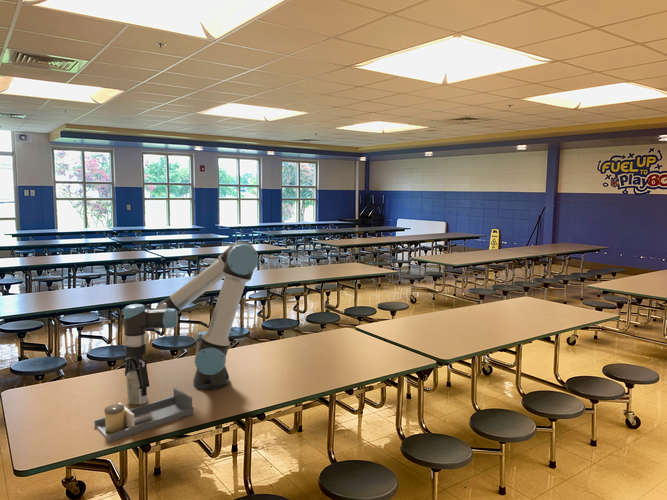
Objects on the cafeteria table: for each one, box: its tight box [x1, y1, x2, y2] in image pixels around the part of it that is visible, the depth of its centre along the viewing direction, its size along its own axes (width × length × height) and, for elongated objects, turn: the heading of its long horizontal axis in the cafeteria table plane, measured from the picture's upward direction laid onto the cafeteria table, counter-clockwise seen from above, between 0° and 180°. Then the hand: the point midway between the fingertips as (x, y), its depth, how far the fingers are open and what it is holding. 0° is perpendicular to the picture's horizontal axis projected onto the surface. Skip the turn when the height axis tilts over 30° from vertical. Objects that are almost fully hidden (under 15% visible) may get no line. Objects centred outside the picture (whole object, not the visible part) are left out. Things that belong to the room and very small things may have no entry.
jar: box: [104, 403, 125, 434], centre depth 163 cm, size 6×6×8 cm
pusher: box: [117, 402, 151, 428], centre depth 169 cm, size 12×9×6 cm
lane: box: [93, 387, 195, 443], centre depth 171 cm, size 15×30×6 cm, turn 135°
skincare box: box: [125, 371, 140, 405], centre depth 185 cm, size 6×4×12 cm
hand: (137, 398), depth 186 cm, fingers open, 10 cm apart
